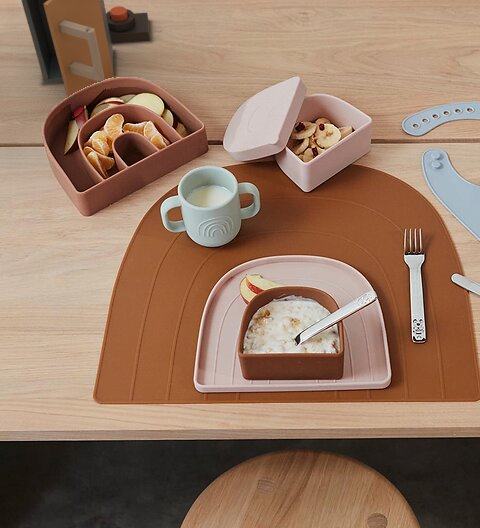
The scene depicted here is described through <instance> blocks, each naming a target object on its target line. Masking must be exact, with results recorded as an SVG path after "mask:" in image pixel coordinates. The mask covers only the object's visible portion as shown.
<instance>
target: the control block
mask: <svg viewBox="0 0 480 528" xmlns="http://www.w3.org/2000/svg"><path fill="white" fill-rule="evenodd" d="M126 10H127V15H128V18H127V20H124V21H120V22H116V21H112V19H111V15H110V10H108V11H106V16H107V21H108V26H109V32H110V37H111V42H112V44H121V43H122V44H123V43H135V42H150V40H151V38H150V22H149V14H148V12H135V13H134V12H133V11H132V10H131V9H127V8H126Z"/></svg>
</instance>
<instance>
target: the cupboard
mask: <svg viewBox="0 0 480 528" xmlns="http://www.w3.org/2000/svg"><path fill="white" fill-rule="evenodd" d="M46 1H48V0H21V4H22V7H23V11H24V15H25V18H26V22H27V25H28V29H29V33H30V36H31V39H32V42H33V46H34V50H35V53H36V57H37V60H38V64H39V67H40V71H41V74H42V78H43V82H44V84H53V83H54V84H55V83H64V82H63V78H62V74H61V70H60V66H59V62H58V58H57V55H56V51H55V47H54V43H53V39H52V35H51V31H50V28H49V24H48V20H47V16H46V12H45V8H44V3H45V2H46ZM99 2H100V7H101V12H102V17H103V22H104V27H105V33H106V38H107V43H108V48H109V53H110V58H111V64H112V69H113V70H114V49H113V43H112V42H111V37H110V32H109V26H108V21H107V16H106V13H107V11H106V6H105V0H99Z"/></svg>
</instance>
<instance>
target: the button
mask: <svg viewBox="0 0 480 528" xmlns="http://www.w3.org/2000/svg"><path fill="white" fill-rule="evenodd" d="M126 9H127V8H126V7H125V6H121V5H119V6H118V5H117V6H114V7H112V8H110V10H109V11H110V15H111V19H112V21H116V22H120V21H124V20H127V18H128V15H127V10H126Z"/></svg>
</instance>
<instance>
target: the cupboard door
mask: <svg viewBox="0 0 480 528" xmlns="http://www.w3.org/2000/svg"><path fill="white" fill-rule="evenodd" d="M44 8H45V12H46V16H47V20H48V24H49V28H50V31H51V35H52V39H53V43H54V47H55V51H56V55H57V58H58V62H59V66H60V70H61V74H62V78H63V82H62V83H63V85H64V89H65V93H66V96H67V98H68V97H69V96H70V95H72V94H73V93H75V92H77V91H79V90H81V89H83V88H85V87H87V86H90V85H92V84H94V83H97V82H101V81H103V80H105V79H108V78H112V77H114V78H115V74H114V68H113V69H112V64H111V58H110V53H109V48H108V43H107V38H106V33H105V27H104V22H103V17H102V12H101V7H100V2H99V0H48V1H46V2H45V3H44ZM72 118H74V117H73V116H72ZM74 119H75V118H74Z"/></svg>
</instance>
